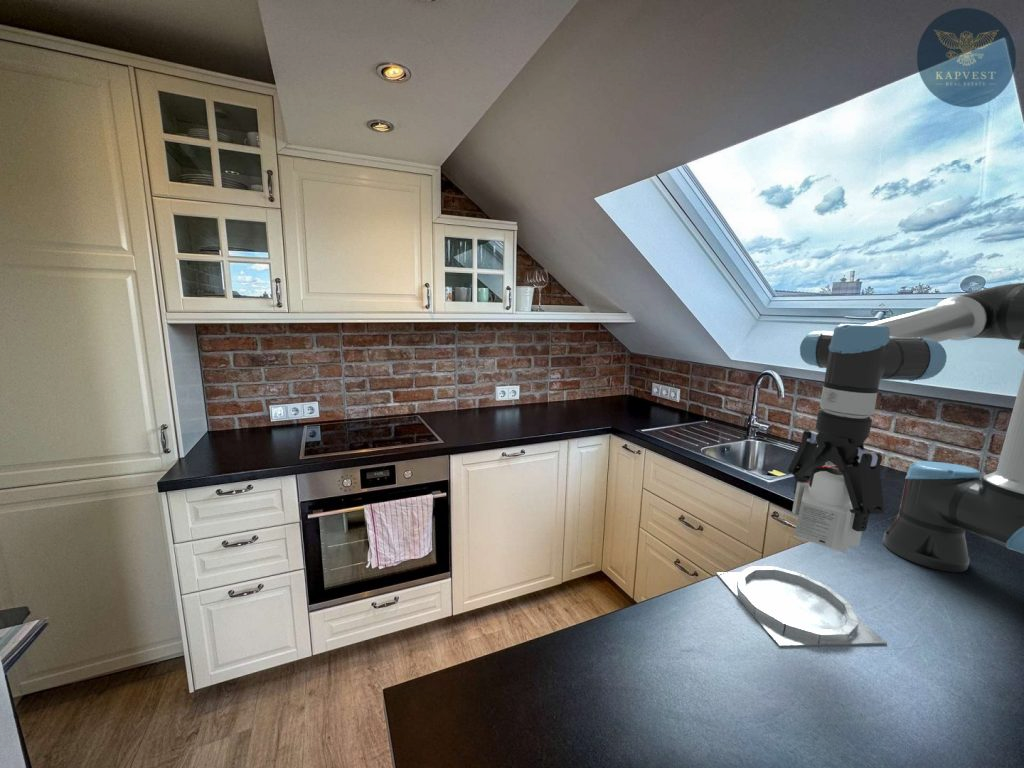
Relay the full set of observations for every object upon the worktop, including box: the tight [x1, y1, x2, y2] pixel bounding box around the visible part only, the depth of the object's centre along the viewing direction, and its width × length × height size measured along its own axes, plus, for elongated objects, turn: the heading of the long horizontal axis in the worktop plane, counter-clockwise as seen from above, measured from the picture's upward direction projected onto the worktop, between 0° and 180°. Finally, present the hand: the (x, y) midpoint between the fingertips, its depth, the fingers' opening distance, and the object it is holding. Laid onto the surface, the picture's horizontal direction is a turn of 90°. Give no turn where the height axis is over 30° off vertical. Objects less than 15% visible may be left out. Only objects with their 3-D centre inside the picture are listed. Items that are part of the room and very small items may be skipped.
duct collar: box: [716, 565, 888, 648], centre depth 83 cm, size 20×20×2 cm
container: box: [793, 467, 853, 554], centre depth 77 cm, size 8×8×13 cm
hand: (823, 528), depth 78 cm, fingers closed on container, 11 cm apart
